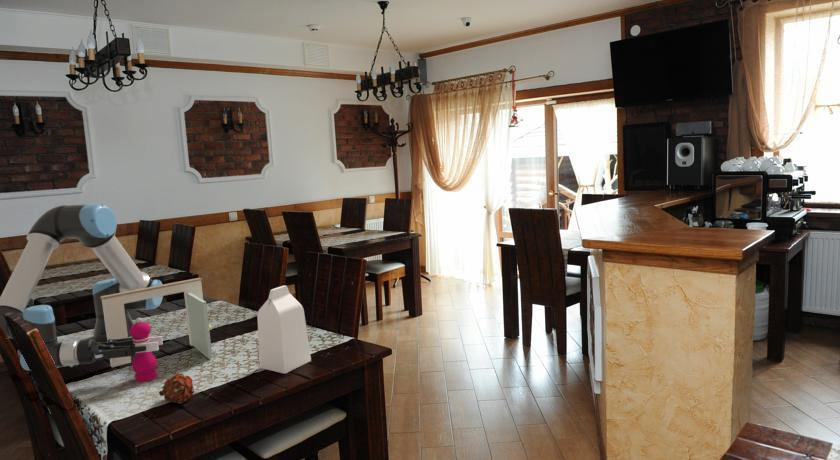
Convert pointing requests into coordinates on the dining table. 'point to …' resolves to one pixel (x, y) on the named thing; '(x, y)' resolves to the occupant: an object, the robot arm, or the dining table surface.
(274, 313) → the milk
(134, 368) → the pepper mill
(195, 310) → the door
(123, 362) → the door frame
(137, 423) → the dining table surface
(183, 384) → the dragon fruit
